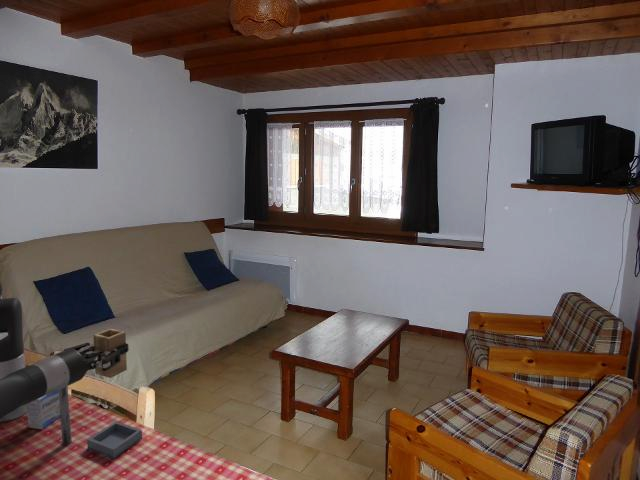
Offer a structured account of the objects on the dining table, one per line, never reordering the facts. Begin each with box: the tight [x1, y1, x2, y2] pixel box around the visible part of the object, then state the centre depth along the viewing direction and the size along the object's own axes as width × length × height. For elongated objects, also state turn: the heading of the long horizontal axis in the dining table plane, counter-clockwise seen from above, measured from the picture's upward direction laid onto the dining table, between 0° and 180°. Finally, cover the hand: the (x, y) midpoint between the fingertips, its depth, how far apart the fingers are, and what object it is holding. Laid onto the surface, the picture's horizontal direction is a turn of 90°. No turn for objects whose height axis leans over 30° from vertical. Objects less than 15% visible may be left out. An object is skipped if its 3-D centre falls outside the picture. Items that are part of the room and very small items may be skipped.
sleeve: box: [92, 328, 128, 379], centre depth 111 cm, size 5×5×10 cm
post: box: [59, 386, 72, 446], centre depth 114 cm, size 2×2×16 cm
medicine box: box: [26, 390, 60, 430], centre depth 123 cm, size 8×4×9 cm, turn 168°
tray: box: [86, 421, 143, 460], centre depth 115 cm, size 9×9×2 cm
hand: (118, 345), depth 113 cm, fingers closed on sleeve, 5 cm apart
